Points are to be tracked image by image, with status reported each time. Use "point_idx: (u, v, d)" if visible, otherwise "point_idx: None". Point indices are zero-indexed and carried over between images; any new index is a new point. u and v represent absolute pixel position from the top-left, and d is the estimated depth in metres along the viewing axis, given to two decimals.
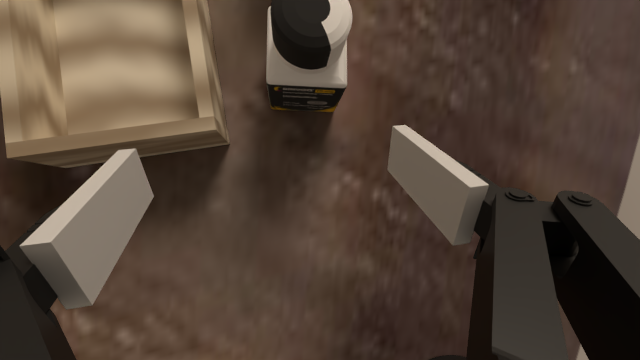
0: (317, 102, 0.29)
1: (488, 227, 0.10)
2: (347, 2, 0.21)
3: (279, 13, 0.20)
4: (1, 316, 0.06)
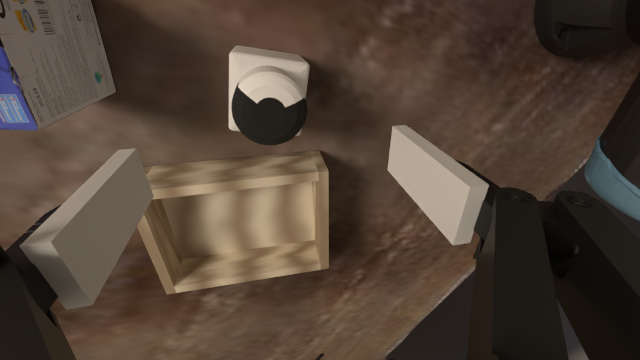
0: None
1: (488, 227, 0.10)
2: (260, 76, 0.21)
3: (274, 140, 0.24)
4: (1, 316, 0.06)
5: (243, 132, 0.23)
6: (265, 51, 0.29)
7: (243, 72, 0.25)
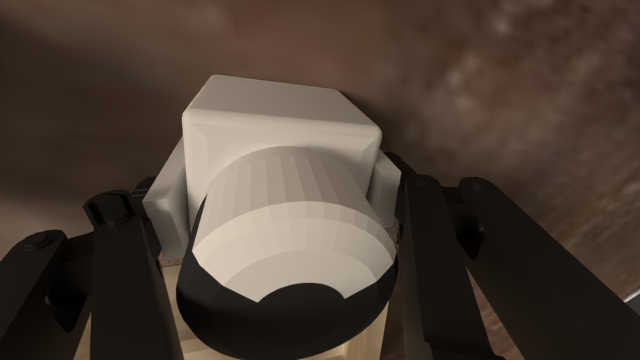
0: None
1: (404, 213, 0.11)
2: (268, 224, 0.06)
3: None
4: (128, 260, 0.07)
5: (218, 350, 0.08)
6: (273, 89, 0.14)
7: (221, 159, 0.10)
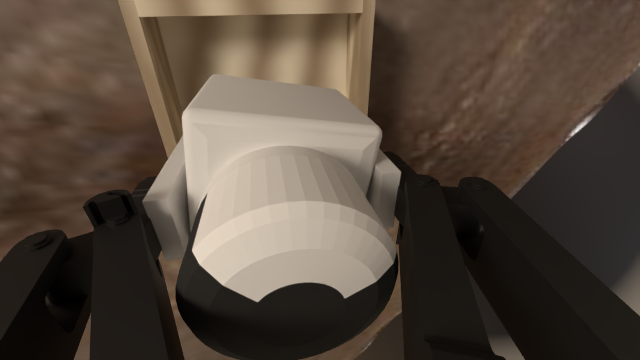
0: None
1: (404, 213, 0.11)
2: (268, 223, 0.06)
3: (306, 357, 0.09)
4: (128, 259, 0.07)
5: (218, 350, 0.08)
6: (273, 89, 0.14)
7: (221, 158, 0.10)
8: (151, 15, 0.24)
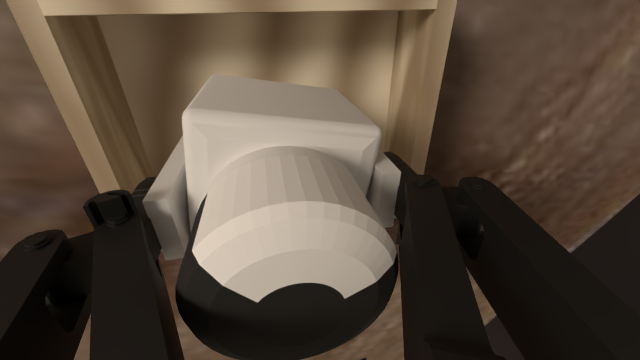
0: None
1: (404, 213, 0.11)
2: (268, 224, 0.06)
3: None
4: (128, 259, 0.07)
5: (217, 350, 0.08)
6: (273, 89, 0.14)
7: (221, 159, 0.10)
8: (67, 13, 0.13)
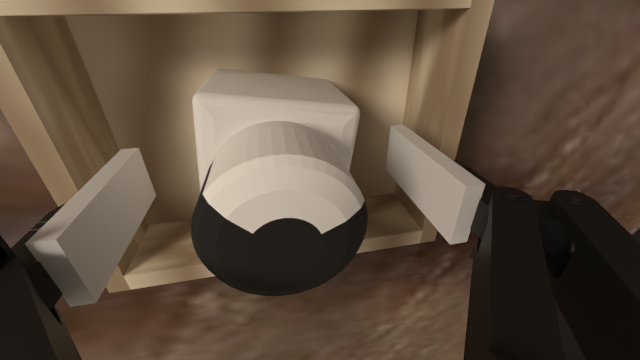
0: None
1: (484, 226, 0.10)
2: (259, 170, 0.08)
3: (295, 291, 0.11)
4: (7, 313, 0.06)
5: None
6: (269, 79, 0.16)
7: (224, 134, 0.12)
8: (16, 12, 0.10)
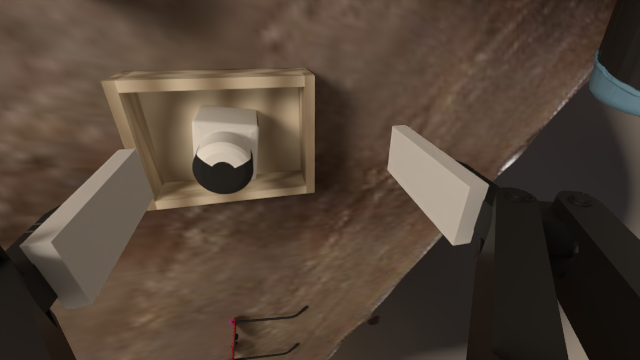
0: None
1: (488, 227, 0.10)
2: (213, 146, 0.28)
3: (228, 191, 0.30)
4: (1, 316, 0.06)
5: (203, 186, 0.29)
6: (225, 111, 0.35)
7: (203, 135, 0.31)
8: (128, 91, 0.29)
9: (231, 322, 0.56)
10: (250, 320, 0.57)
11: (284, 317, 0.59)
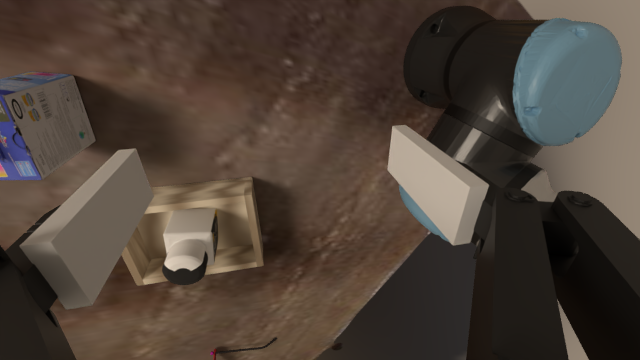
0: (215, 227, 0.49)
1: (488, 227, 0.10)
2: (175, 259, 0.41)
3: (188, 283, 0.43)
4: (1, 316, 0.06)
5: (170, 281, 0.42)
6: (190, 215, 0.48)
7: (172, 242, 0.44)
8: None
9: (211, 353, 0.69)
10: (227, 351, 0.70)
11: (256, 348, 0.72)
